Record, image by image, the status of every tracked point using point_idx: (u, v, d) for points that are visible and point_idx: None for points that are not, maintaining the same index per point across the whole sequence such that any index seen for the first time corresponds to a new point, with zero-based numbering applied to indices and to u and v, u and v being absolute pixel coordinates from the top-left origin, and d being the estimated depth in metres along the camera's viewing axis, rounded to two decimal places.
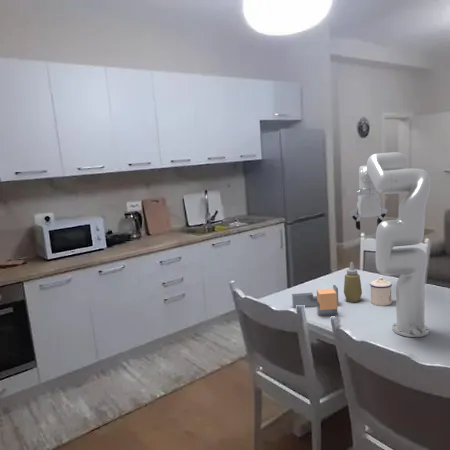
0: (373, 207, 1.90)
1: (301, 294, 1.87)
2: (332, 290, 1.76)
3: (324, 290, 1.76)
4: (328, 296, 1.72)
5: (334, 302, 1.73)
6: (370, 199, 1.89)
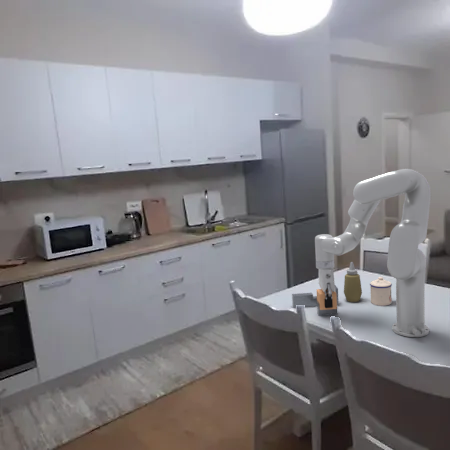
0: None
1: (301, 294, 1.87)
2: None
3: None
4: None
5: (334, 302, 1.73)
6: None
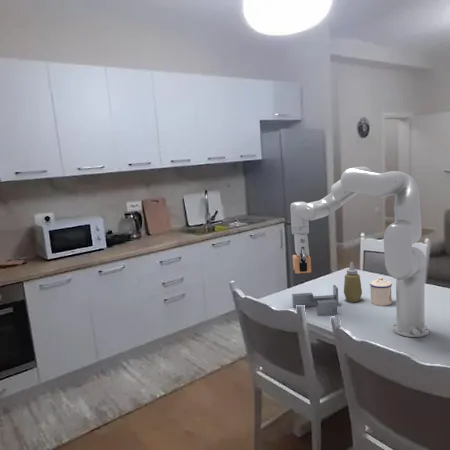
0: None
1: (301, 294, 1.87)
2: None
3: None
4: None
5: (308, 266, 1.82)
6: None
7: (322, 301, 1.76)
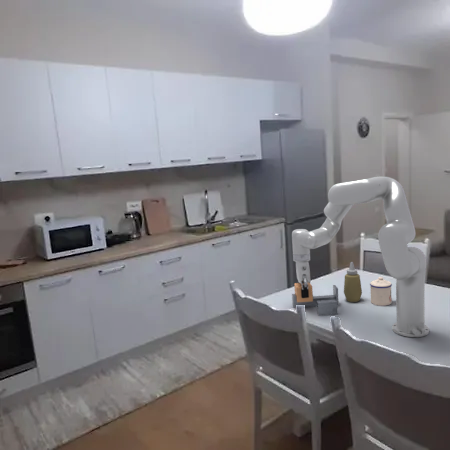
0: None
1: None
2: (309, 284, 1.87)
3: None
4: None
5: (310, 295, 1.84)
6: None
7: (322, 301, 1.76)
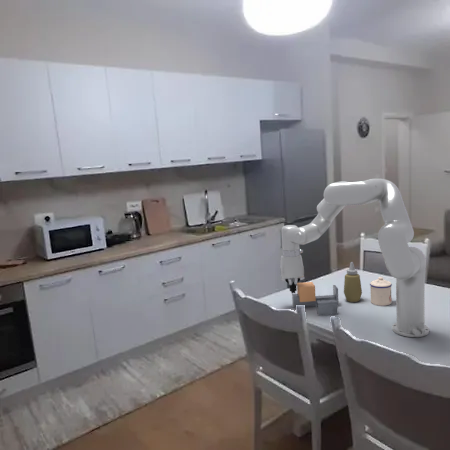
0: None
1: None
2: (311, 283, 1.87)
3: (304, 283, 1.87)
4: (307, 289, 1.83)
5: (313, 295, 1.84)
6: None
7: (322, 301, 1.76)
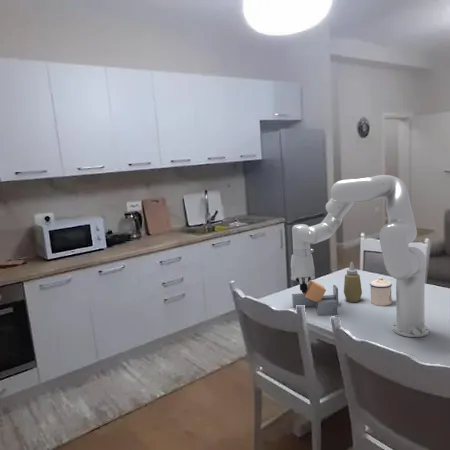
0: None
1: (301, 294, 1.87)
2: (322, 286, 1.87)
3: (316, 283, 1.88)
4: (318, 289, 1.84)
5: (320, 297, 1.84)
6: None
7: (322, 301, 1.76)
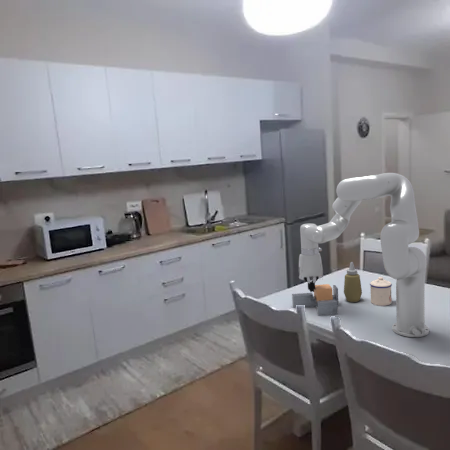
0: None
1: (301, 294, 1.87)
2: (328, 286, 1.87)
3: (321, 286, 1.88)
4: (324, 291, 1.84)
5: (330, 297, 1.84)
6: None
7: (322, 301, 1.76)
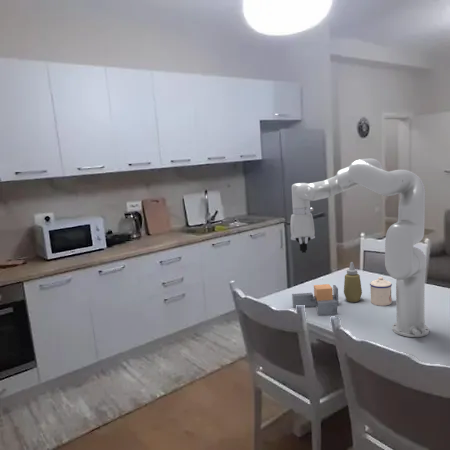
0: None
1: (301, 294, 1.87)
2: (328, 286, 1.87)
3: (321, 286, 1.88)
4: (325, 291, 1.84)
5: (330, 297, 1.84)
6: None
7: (322, 301, 1.76)
